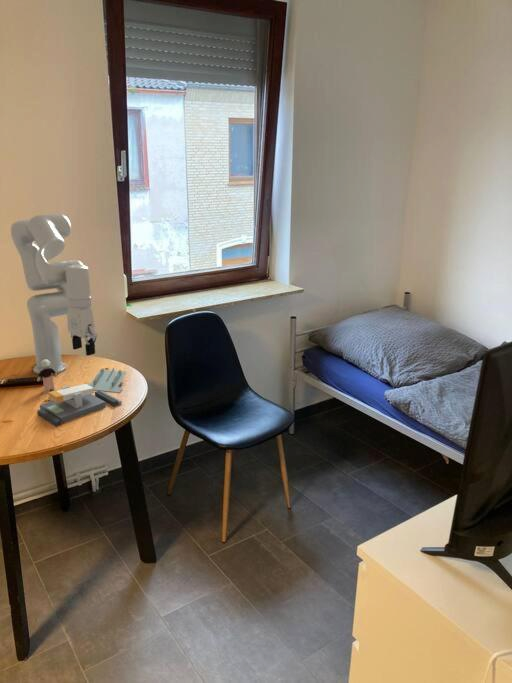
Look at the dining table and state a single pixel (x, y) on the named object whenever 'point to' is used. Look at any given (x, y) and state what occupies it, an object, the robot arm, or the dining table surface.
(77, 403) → the panel
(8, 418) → the dining table surface
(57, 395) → the rocker lever
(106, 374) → the metal bracket
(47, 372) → the grandmother figurine
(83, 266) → the robot arm
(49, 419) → the pair of grey rails
